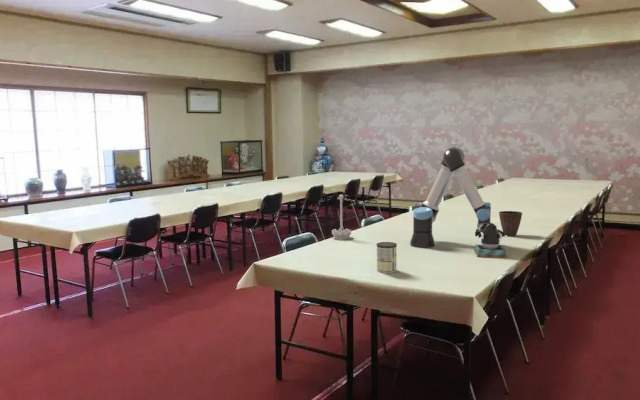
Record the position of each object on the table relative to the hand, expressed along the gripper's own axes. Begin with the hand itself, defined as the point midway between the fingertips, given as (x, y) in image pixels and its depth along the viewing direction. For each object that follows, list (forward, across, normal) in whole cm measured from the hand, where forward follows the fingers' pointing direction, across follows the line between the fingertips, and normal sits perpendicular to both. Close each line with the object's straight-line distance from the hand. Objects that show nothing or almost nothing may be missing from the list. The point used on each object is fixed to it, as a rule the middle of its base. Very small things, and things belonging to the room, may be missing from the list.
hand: (491, 236), depth 304 cm
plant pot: (-65, -22, -12) cm, 70 cm away
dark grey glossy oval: (-4, 0, -8) cm, 9 cm away
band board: (-4, 0, -11) cm, 12 cm away
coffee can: (+41, +58, -11) cm, 72 cm away
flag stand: (-44, +92, -11) cm, 102 cm away
